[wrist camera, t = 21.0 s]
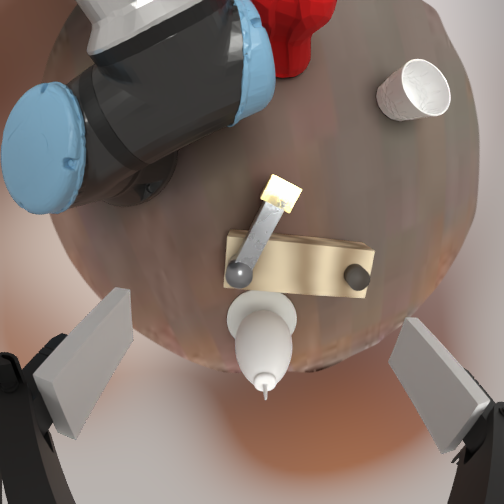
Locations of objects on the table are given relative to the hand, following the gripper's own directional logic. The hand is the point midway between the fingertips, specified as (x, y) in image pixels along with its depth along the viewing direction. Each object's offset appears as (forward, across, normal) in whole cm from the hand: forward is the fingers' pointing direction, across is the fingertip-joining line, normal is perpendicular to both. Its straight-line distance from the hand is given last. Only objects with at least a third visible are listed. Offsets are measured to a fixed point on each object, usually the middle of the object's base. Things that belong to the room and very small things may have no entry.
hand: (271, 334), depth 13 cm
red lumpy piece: (+31, 0, +26) cm, 40 cm away
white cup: (+31, +19, +22) cm, 42 cm away
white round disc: (+30, +3, -16) cm, 34 cm away
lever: (+25, 0, -1) cm, 25 cm away
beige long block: (+30, +6, -5) cm, 31 cm away
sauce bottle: (+30, +3, -16) cm, 34 cm away
